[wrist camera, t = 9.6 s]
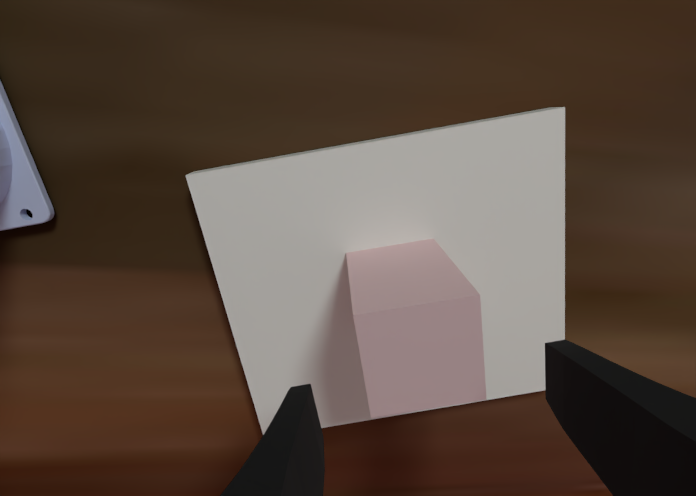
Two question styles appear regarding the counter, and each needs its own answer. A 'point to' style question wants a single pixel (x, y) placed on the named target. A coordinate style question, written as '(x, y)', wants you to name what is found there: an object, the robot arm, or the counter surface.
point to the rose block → (416, 328)
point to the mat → (384, 230)
